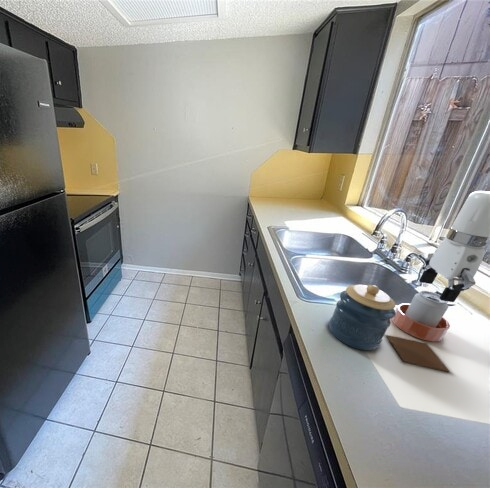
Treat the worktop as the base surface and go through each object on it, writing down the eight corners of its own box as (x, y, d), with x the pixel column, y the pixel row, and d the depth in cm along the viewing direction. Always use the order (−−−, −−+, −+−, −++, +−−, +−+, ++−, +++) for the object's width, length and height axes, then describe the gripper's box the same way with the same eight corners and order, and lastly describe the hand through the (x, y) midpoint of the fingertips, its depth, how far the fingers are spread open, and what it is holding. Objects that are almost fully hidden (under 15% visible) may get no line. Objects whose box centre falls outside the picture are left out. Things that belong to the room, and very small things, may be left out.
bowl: (426, 320, 86) (433, 308, 84) (451, 346, 75) (460, 333, 73) (384, 312, 89) (390, 300, 87) (403, 336, 78) (410, 323, 76)
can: (400, 326, 81) (417, 295, 77) (401, 316, 87) (417, 286, 82) (432, 339, 77) (452, 307, 72) (431, 327, 82) (450, 296, 77)
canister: (389, 345, 74) (416, 295, 67) (358, 356, 70) (384, 304, 63) (347, 316, 86) (366, 271, 78) (318, 324, 81) (336, 277, 74)
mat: (425, 344, 76) (426, 343, 75) (448, 372, 67) (449, 371, 67) (386, 336, 78) (386, 335, 78) (403, 361, 69) (404, 360, 69)
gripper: (513, 254, 61) (473, 312, 68) (460, 229, 76) (432, 279, 83) (474, 248, 62) (438, 305, 70) (430, 225, 78) (404, 274, 85)
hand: (435, 291), depth 76 cm, fingers open, 9 cm apart
